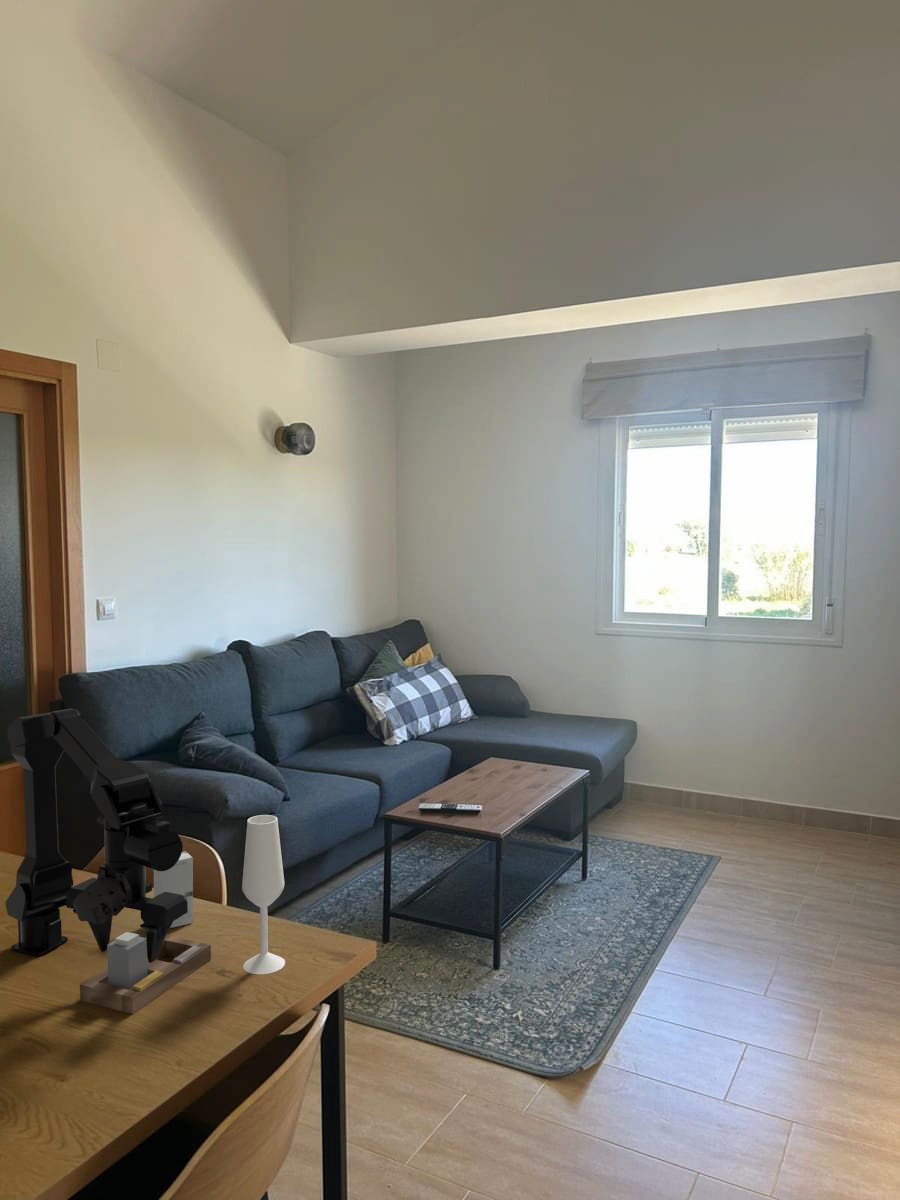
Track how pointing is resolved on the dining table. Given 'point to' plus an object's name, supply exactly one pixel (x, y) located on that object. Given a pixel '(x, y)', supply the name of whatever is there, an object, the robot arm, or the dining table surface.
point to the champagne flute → (263, 883)
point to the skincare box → (177, 885)
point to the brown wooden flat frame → (148, 977)
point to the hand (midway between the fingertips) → (127, 956)
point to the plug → (127, 960)
